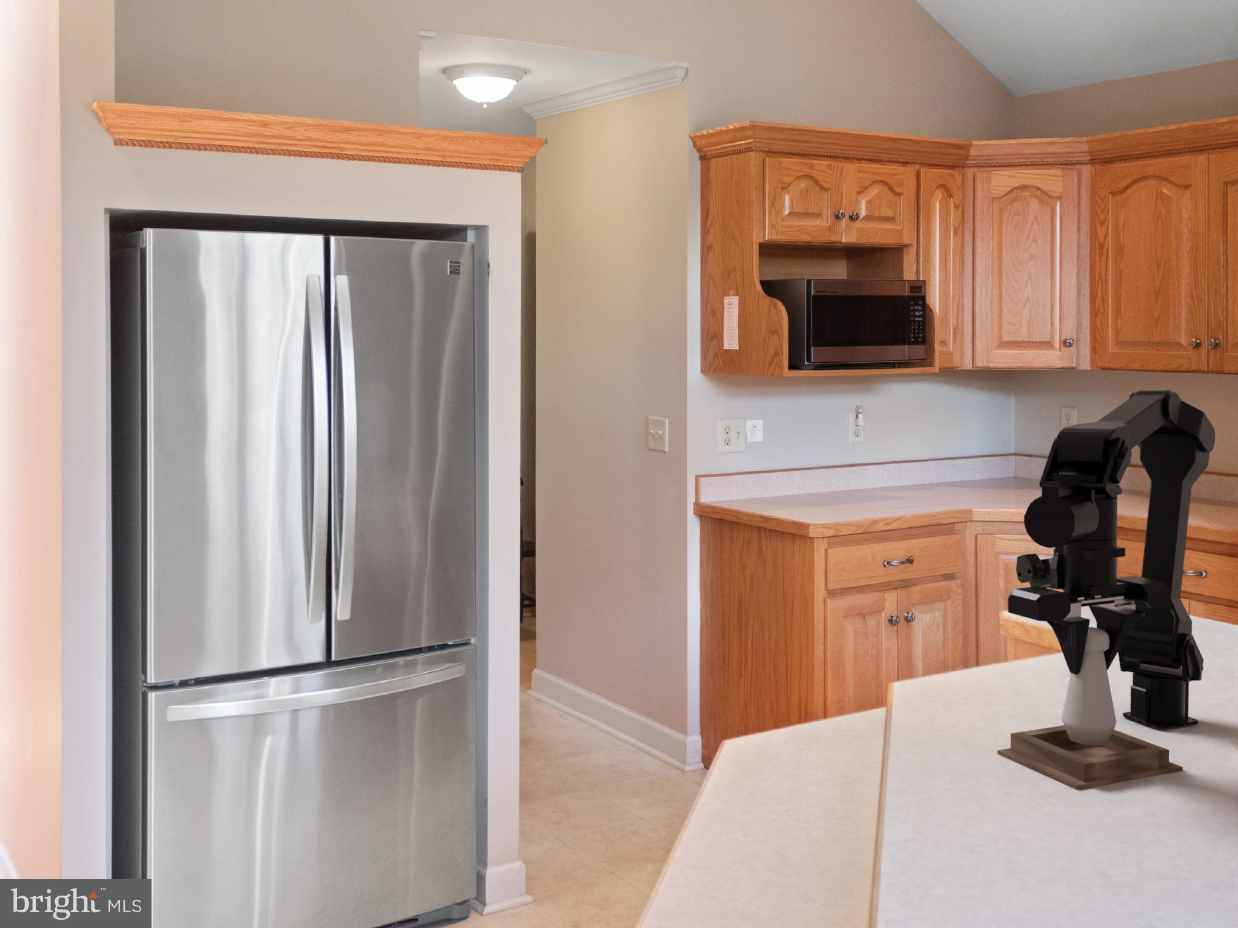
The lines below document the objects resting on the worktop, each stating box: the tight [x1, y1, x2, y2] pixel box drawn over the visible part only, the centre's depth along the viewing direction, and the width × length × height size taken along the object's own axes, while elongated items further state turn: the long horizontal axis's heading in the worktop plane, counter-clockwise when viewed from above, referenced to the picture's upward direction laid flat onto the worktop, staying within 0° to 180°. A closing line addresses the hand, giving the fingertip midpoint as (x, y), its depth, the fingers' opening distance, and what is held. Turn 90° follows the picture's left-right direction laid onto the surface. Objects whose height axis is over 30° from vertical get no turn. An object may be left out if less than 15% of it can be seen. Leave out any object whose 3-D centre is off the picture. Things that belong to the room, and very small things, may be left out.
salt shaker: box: [1061, 626, 1117, 745], centre depth 132 cm, size 6×6×13 cm
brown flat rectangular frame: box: [996, 724, 1184, 790], centre depth 133 cm, size 15×13×2 cm
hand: (1088, 671), depth 132 cm, fingers closed on salt shaker, 4 cm apart
